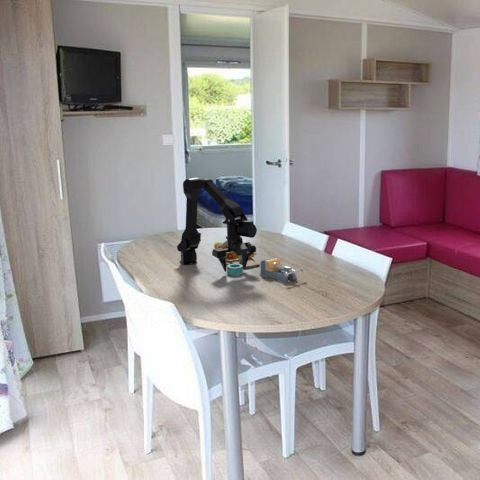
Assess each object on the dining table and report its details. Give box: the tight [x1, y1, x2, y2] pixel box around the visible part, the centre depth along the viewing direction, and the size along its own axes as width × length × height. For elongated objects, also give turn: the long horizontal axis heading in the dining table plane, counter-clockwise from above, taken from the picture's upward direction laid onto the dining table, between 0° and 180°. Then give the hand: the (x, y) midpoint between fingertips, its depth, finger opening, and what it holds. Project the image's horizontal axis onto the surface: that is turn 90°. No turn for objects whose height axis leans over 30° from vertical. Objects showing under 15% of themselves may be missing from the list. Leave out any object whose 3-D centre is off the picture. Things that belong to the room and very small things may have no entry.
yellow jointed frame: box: [213, 239, 255, 261], centre depth 259 cm, size 18×6×30 cm
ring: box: [226, 264, 244, 276], centre depth 231 cm, size 6×6×3 cm
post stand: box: [226, 255, 261, 270], centre depth 242 cm, size 12×12×5 cm
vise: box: [259, 257, 305, 283], centre depth 223 cm, size 18×10×7 cm, turn 39°
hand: (234, 269), depth 231 cm, fingers open, 9 cm apart
